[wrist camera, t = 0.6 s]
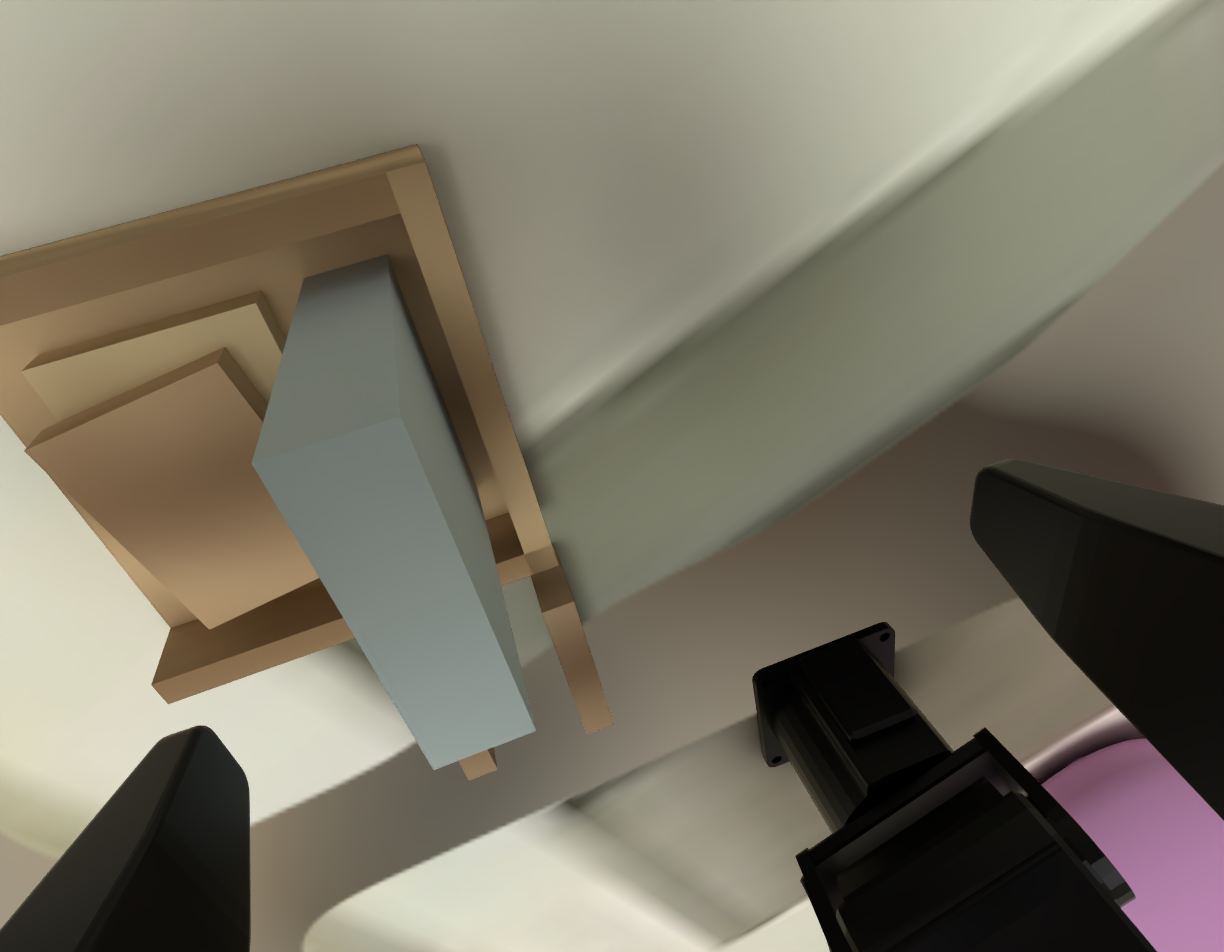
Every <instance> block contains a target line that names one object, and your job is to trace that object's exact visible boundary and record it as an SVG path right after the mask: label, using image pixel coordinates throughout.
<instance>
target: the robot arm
mask: <svg viewBox="0 0 1224 952" xmlns="http://www.w3.org/2000/svg"><path fill="white" fill-rule="evenodd" d="M970 528H971V531H972V534H973V536H974V538H975V540H976V541H977V543H978V544H979V546H980V547H981V548H982V549H983V551H984V552H985V554H986V555H987V556H988V557H989V559H990V560H991V561H992V563H993V564H994V565H995V566H996V568H997V569H998V570H999V571H1000V573H1001V574H1002V575H1003V577H1004V578H1005V579H1006V581H1007V582H1008V583H1009V584H1010V586H1011V587H1012V588H1013V590H1014V591H1015V592H1016V593H1017V595H1018V596H1019V597H1020V599H1021V600H1022V601H1023V603H1024V604H1025V605H1026V606H1027V608H1028V609H1029V610H1030V612H1031V613H1032V614H1033V615H1034V617H1035V618H1036V619H1037V621H1038V622H1039V623H1040V624H1041V626H1042V627H1043V628H1044V629H1045V630H1046V632H1047V633H1048V634H1049V635H1050V637H1051V638H1052V639H1053V640H1054V641H1055V642H1056V643H1057V645H1058V646H1059V647H1060V648H1061V649H1062V650H1063V651H1064V652H1065V653H1066V655H1067V656H1068V657H1069V658H1070V659H1071V660H1072V661H1073V662H1074V663H1075V664H1076V665H1077V666H1078V667H1079V668H1080V669H1081V671H1082V672H1083V673H1084V674H1085V675H1086V676H1087V677H1088V678H1089V679H1090V680H1091V681H1092V682H1093V683H1094V684H1095V685H1096V686H1097V687H1098V688H1099V690H1100V691H1101V692H1102V693H1103V694H1104V695H1105V696H1106V697H1107V698H1108V699H1109V700H1110V701H1111V702H1112V703H1113V704H1114V705H1115V706H1116V708H1117V709H1118V710H1119V711H1120V712H1121V713H1122V714H1123V715H1124V716H1125V717H1126V718H1127V719H1128V720H1129V721H1130V722H1131V723H1132V724H1133V725H1134V727H1135V728H1136V729H1137V730H1138V731H1139V732H1140V733H1141V734H1142V735H1143V736H1144V737H1145V738H1146V739H1147V740H1148V741H1149V742H1150V743H1151V745H1152V746H1153V747H1154V748H1155V749H1156V750H1157V751H1158V752H1159V753H1160V754H1161V755H1162V756H1163V757H1164V758H1165V759H1166V760H1167V761H1168V763H1169V764H1170V765H1171V766H1172V767H1173V768H1174V769H1175V770H1176V771H1177V772H1178V773H1179V774H1180V775H1181V776H1182V777H1183V778H1184V779H1185V780H1186V782H1187V783H1188V784H1189V785H1190V786H1191V787H1192V788H1193V789H1194V790H1195V791H1196V792H1197V793H1198V794H1199V795H1200V796H1201V797H1202V798H1203V800H1204V801H1205V802H1206V803H1207V804H1208V805H1209V806H1210V807H1211V808H1212V809H1213V810H1214V811H1215V812H1216V813H1217V814H1218V815H1219V816H1220V818H1221V819H1222V820H1223V821H1224V505H1220V504H1215V503H1211V502H1206V501H1202V500H1197V499H1193V498H1188V497H1184V496H1179V495H1175V494H1171V493H1166V492H1162V491H1158V490H1153V489H1149V488H1144V487H1140V486H1135V485H1131V484H1127V483H1122V482H1118V481H1113V480H1109V479H1105V478H1100V477H1096V476H1091V475H1087V474H1082V473H1078V472H1074V471H1069V470H1065V469H1060V468H1056V467H1051V466H1047V465H1043V464H1038V463H1034V462H1029V461H1024V460H1020V459H1006V460H1003V461H1000V462H997V463H994V464H991V465H988V466H985V467H983V468H982V469H980V470H979V472H978V474H977V475H976V478H975V484H974V493H973V500H972V508H971V515H970ZM894 652H895V631H894V630H893V628H892V627H891V626H890V625H889V624H888V623H886V622H881V623H878V624H875V625H873V626H870V627H868V628H865V629H863V630H860V631H858V632H855V633H853V634H850V635H847V636H845V637H842V638H839V639H837V640H834V641H832V642H829V643H827V644H824V645H822V646H819V647H816V648H814V649H811V650H809V651H806V652H803V653H801V654H798V655H796V656H793V657H790V658H788V659H785V660H783V661H780V662H778V663H775V664H773V665H770V666H767V667H765V668H762V669H760V670H759V671H757V672H756V673H755V674H754V676H753V679H752V682H753V688H754V695H755V702H756V710H757V717H758V724H759V731H760V738H761V745H762V752H763V757H764V759H765V761H766V763H767V765H768V766H769V767H776V766H779V765H781V764H784V763H786V762H789V761H790V762H791V764H792V766H793V767H794V769H795V771H796V772H797V774H798V776H799V777H800V779H801V781H802V783H803V784H804V786H805V788H806V789H807V791H808V793H809V795H810V796H811V798H812V800H813V801H814V803H815V805H816V807H817V808H818V810H819V812H820V813H821V815H822V817H823V818H824V820H825V822H826V824H827V825H828V827H829V829H830V830H831V832H832V834H831V835H830V836H829V837H827V838H826V839H824V840H823V841H821V842H820V843H818V844H817V845H815V846H814V847H812V848H811V849H808V848H806V849H805V850H803V851H802V852H800V853H799V854H797V855H796V859H797V861H798V864H799V866H800V869H801V871H802V873H803V876H802V878H801V880H800V881H801V883H802V885H803V887H804V889H805V891H806V893H807V895H808V897H809V899H810V901H811V903H812V906H813V908H814V911H815V913H816V916H817V918H818V920H819V923H820V925H821V928H822V930H823V932H824V935H825V937H826V940H827V943H828V946H829V950H830V952H1157V951H1156V950H1155V948H1154V947H1153V946H1152V945H1151V944H1150V942H1149V941H1148V940H1147V939H1146V938H1145V936H1144V935H1143V934H1142V933H1141V932H1140V931H1139V929H1138V928H1137V927H1136V926H1135V925H1134V923H1133V922H1132V921H1131V920H1130V919H1129V917H1128V916H1127V915H1126V914H1125V913H1124V911H1123V910H1122V909H1121V907H1123V906H1125V905H1126V904H1128V903H1129V902H1131V901H1132V900H1134V899H1136V896H1135V894H1134V892H1133V891H1132V889H1131V888H1130V886H1129V885H1128V884H1127V882H1126V881H1125V879H1124V878H1123V877H1122V876H1121V874H1120V873H1119V872H1118V870H1117V869H1116V868H1115V867H1114V865H1113V864H1112V863H1111V862H1110V860H1109V859H1108V858H1107V857H1106V855H1105V854H1104V853H1103V852H1102V851H1101V849H1100V848H1099V847H1098V846H1097V845H1096V844H1095V842H1094V841H1093V840H1092V839H1091V838H1090V837H1089V835H1088V834H1087V833H1086V832H1085V831H1084V830H1083V829H1082V827H1081V826H1080V825H1079V824H1078V823H1077V822H1076V821H1075V820H1074V819H1073V818H1072V816H1071V815H1070V814H1069V813H1068V812H1067V811H1066V810H1065V809H1064V808H1063V807H1062V806H1061V805H1060V804H1059V803H1058V802H1057V801H1056V800H1055V799H1054V798H1053V796H1052V795H1051V794H1050V793H1049V792H1048V791H1047V790H1046V789H1045V788H1044V787H1043V786H1042V785H1041V784H1040V783H1039V782H1038V781H1037V780H1036V779H1035V778H1034V777H1033V776H1032V775H1031V774H1030V773H1029V772H1028V771H1027V770H1026V769H1025V768H1024V767H1023V766H1022V765H1021V764H1020V763H1019V762H1018V761H1017V760H1016V758H1015V757H1014V756H1013V755H1012V754H1011V753H1010V752H1009V751H1008V750H1007V749H1006V748H1005V747H1004V746H1003V745H1002V744H1001V743H1000V742H999V741H998V740H997V739H996V738H995V737H994V736H993V735H992V734H991V733H990V732H989V731H988V730H987V729H986V728H983V729H982V730H980V731H979V732H977V733H976V734H974V735H973V736H974V738H973V739H972V740H970V741H969V742H967V743H966V744H964V745H963V746H961V747H960V748H959V749H957V750H956V751H953V750H952V748H951V747H950V746H949V745H948V744H947V742H946V741H945V740H944V739H943V738H942V736H941V735H940V734H939V733H938V731H937V730H936V729H935V728H934V727H933V725H932V724H931V723H930V722H929V721H928V719H927V718H926V717H925V716H924V715H923V713H922V712H921V711H920V710H919V708H918V707H917V706H916V705H915V704H914V702H913V701H912V700H911V699H910V698H909V696H908V695H907V694H906V693H905V691H904V690H903V689H902V688H901V687H900V685H899V684H898V683H897V682H896V681H895V679H894ZM250 886H251V882H250V801H249V786H248V781H247V778H246V775H245V773H244V771H243V769H242V768H241V767H240V765H239V764H238V763H237V761H236V760H235V759H234V757H233V756H232V755H231V753H230V752H229V751H228V749H227V748H226V747H225V745H224V744H223V743H222V742H221V740H220V739H219V738H218V736H217V735H216V734H215V732H214V731H213V730H212V729H210V728H209V727H207V726H195V727H192V728H189V729H186V730H183V731H180V732H177V733H174V734H171V735H168V736H166V737H164V738H162V739H161V740H160V741H158V742H157V743H156V745H155V746H154V747H153V748H152V749H151V750H150V751H149V753H148V754H147V755H146V756H145V757H144V759H143V760H142V761H141V762H140V763H139V765H138V766H137V767H136V768H135V769H134V771H133V772H132V773H131V774H130V775H129V776H128V778H127V779H126V780H125V781H124V782H123V784H122V785H121V786H120V787H119V788H118V790H117V791H116V792H115V793H114V794H113V796H112V797H111V798H110V799H109V800H108V802H107V803H106V804H105V805H104V806H103V808H102V809H101V810H100V811H99V812H98V814H97V815H96V816H95V817H94V818H93V820H92V821H91V822H90V823H89V824H88V825H87V827H86V828H85V829H84V830H83V831H82V833H81V834H80V835H79V836H78V837H77V839H76V840H75V841H74V842H73V843H72V845H71V846H70V847H69V848H68V849H67V851H66V852H65V853H64V854H63V855H62V857H61V858H60V859H59V860H58V861H57V863H56V864H55V865H54V866H53V867H52V869H51V870H50V871H49V872H48V873H47V875H46V876H45V877H44V878H43V879H42V881H41V882H40V883H39V884H38V885H37V886H36V888H35V889H34V890H33V891H32V892H31V894H30V895H29V896H28V897H27V899H26V900H25V901H24V902H23V903H22V904H21V906H20V907H19V908H18V909H17V910H16V912H15V913H14V914H13V915H12V916H11V918H10V919H9V920H8V921H7V922H6V923H5V925H4V926H3V927H2V928H1V929H0V952H249V951H250V939H251V937H250V936H251V887H250Z"/></svg>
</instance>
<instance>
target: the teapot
mask: <svg viewBox="0 0 1224 952" xmlns="http://www.w3.org/2000/svg"><path fill="white" fill-rule="evenodd" d="M1041 785H1042V786H1043V787H1044V788H1045V789H1046V790H1047V791H1048V792H1049V793H1050V794H1051V795H1052V796H1053V798H1054V799H1055V800H1056V801H1057V802H1058V803H1059V804H1060V805H1061V806H1062V807H1063V808H1064V809H1065V810H1066V811H1067V812H1068V813H1069V814H1070V815H1071V816H1072V818H1073V819H1074V820H1075V821H1076V822H1077V823H1078V824H1079V825H1080V826H1081V827H1082V829H1083V830H1084V831H1085V832H1086V833H1087V834H1088V835H1089V837H1090V838H1091V839H1092V840H1093V841H1094V842H1095V844H1096V845H1097V846H1098V847H1099V848H1100V849H1101V851H1102V852H1103V853H1104V854H1105V855H1106V857H1107V858H1108V859H1109V860H1110V862H1111V863H1112V864H1113V865H1114V867H1115V868H1116V869H1117V870H1118V872H1119V873H1120V874H1121V876H1122V877H1123V878H1124V879H1125V881H1126V882H1127V884H1128V885H1129V886H1130V888H1131V889H1132V891H1133V892H1134V894H1135V896H1136V899H1134V900H1132V901H1131V902H1129V903H1128V904H1126V905H1125V906H1123V907H1121V909H1122V910H1123V911H1124V913H1125V914H1126V915H1127V916H1128V917H1129V919H1130V920H1131V921H1132V922H1133V923H1134V925H1135V926H1136V927H1137V928H1138V929H1139V931H1140V932H1141V933H1142V934H1143V935H1144V936H1145V938H1146V939H1147V940H1148V941H1149V942H1150V944H1151V945H1152V946H1153V947H1154V948H1155V950H1156V951H1157V952H1224V821H1223V820H1222V819H1221V818H1220V816H1219V815H1218V814H1217V813H1216V812H1215V811H1214V810H1213V809H1212V808H1211V807H1210V806H1209V805H1208V804H1207V803H1206V802H1205V801H1204V800H1203V798H1202V797H1201V796H1200V795H1199V794H1198V793H1197V792H1196V791H1195V790H1194V789H1193V788H1192V787H1191V786H1190V785H1189V784H1188V783H1187V782H1186V780H1185V779H1184V778H1183V777H1182V776H1181V775H1180V774H1179V773H1178V772H1177V771H1176V770H1175V769H1174V768H1173V767H1172V766H1171V765H1170V764H1169V763H1168V761H1167V760H1166V759H1165V758H1164V757H1163V756H1162V755H1161V754H1160V753H1159V752H1158V751H1157V750H1156V749H1155V748H1154V747H1153V746H1152V745H1151V743H1150V742H1149V741H1148V740H1147V739H1146V738H1142V739H1133V740H1128V741H1124V742H1120V743H1117V744H1113V745H1111V746H1108V747H1105V748H1103V749H1100V750H1098V751H1096V752H1094V753H1091V754H1089V755H1087V756H1083V757H1081V758H1078V759H1076V760H1075V761H1073V762H1072V763H1070V764H1069V765H1068V766H1067V767H1066V768H1064V769H1063V770H1061V771H1060V772H1058V773H1057V774H1055V775H1054V776H1052V777H1051V778H1049V779H1048V780H1047V781H1045V782H1044V783H1043V784H1041Z"/></svg>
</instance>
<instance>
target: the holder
mask: <svg viewBox="0 0 1224 952" xmlns="http://www.w3.org/2000/svg"><path fill="white" fill-rule="evenodd" d="M552 547H553V550H554V553H555V556H556V559H557V562H558V565H559V566H556V567H553V568H551V569H548V570H545V571H542V572H539V573H536V574H534V575H531V578H532V581H533V584H534V588H535V591H536V594H537V598H538V601H539V604H540V608H541V611H542V614H543V617H544V619H545V622H546V625H547V628H548V630H549V633H550V636H551V638H552V641H553V644H554V647H555V649H556V652H557V655H558V658H559V660H560V663H561V666H562V668H563V671H564V674H565V677H566V679H567V682H568V685H569V688H570V690H571V693H572V696H573V698H574V701H575V703H576V706H577V709H578V712H579V715H580V718H581V720H582V723H583V726H584V728H585V731H586V734H590V733H592V732H595V731H598V730H600V729H603V728H606V727H608V726H611V725H613V724H614V722H613V719H612V716H611V713H610V710H609V707H608V704H607V701H606V698H605V695H604V692H603V689H602V685H601V682H600V680H599V677H598V673H597V670H596V667H595V664H594V661H593V658H592V655H591V652H590V649H589V646H588V643H587V640H586V637H585V634H584V630H583V627H582V624H581V621H580V618H579V615H578V612H577V609H576V606H575V603H574V600H573V597H572V595H571V592H570V589H569V586H568V584H567V581H566V578H565V575H564V573H563V570H562V567H561V564H560V562H559V559H558V556H557V554H556V551H555V548H554V545H553V544H552ZM459 763H460V765H461V767H462V769H463V770H464V772H465V774H466V776H467V778H468V779H469V780H471V779H474V778H477V777H479V776H482V775H484V774H487V773H489V772H492V771H495V770H497V764H496V759H495V753H494V747H493V748H490V749H487V750H485V751H482V752H479V753H477V754H474V755H472V756H469V757H466V758H464V759H461V760H459Z"/></svg>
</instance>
